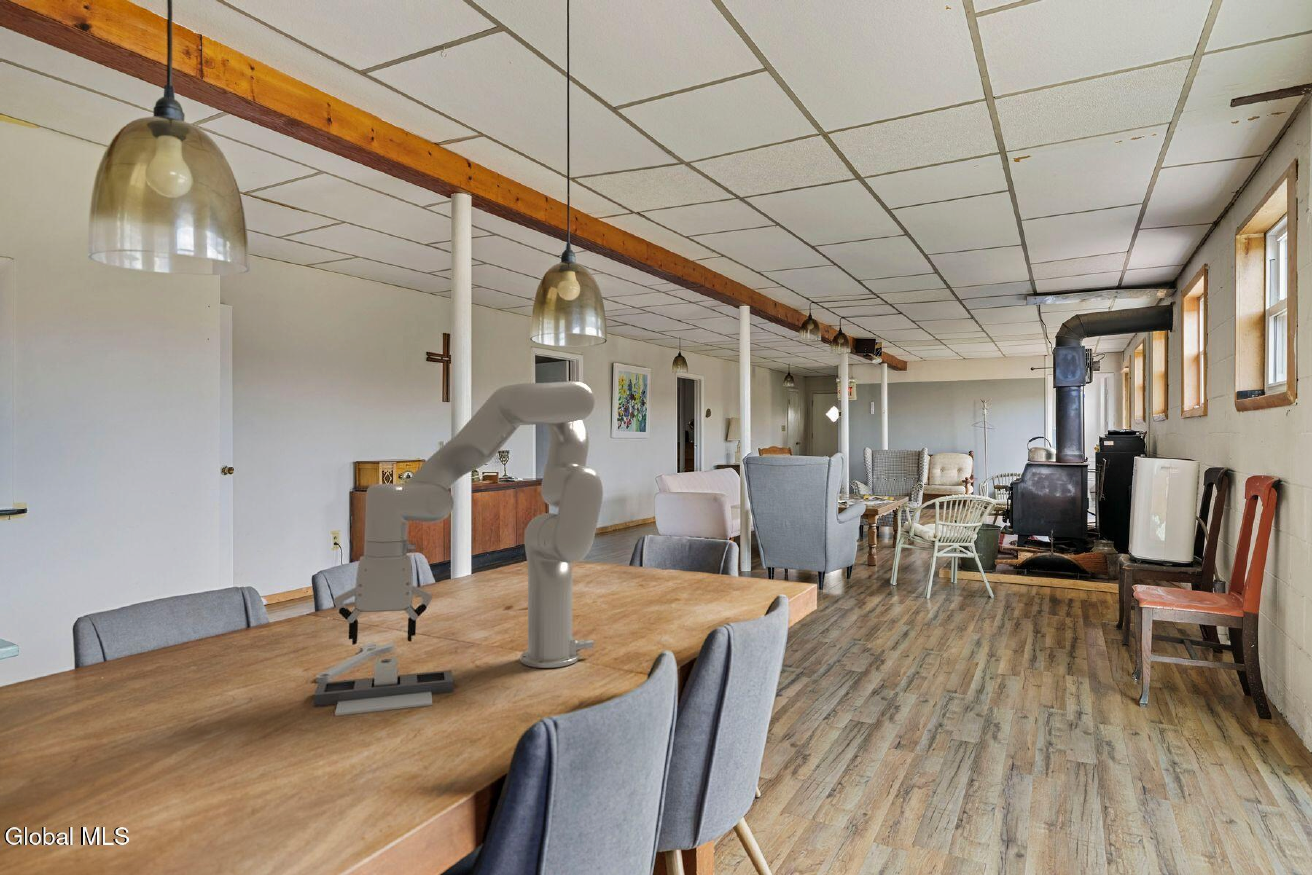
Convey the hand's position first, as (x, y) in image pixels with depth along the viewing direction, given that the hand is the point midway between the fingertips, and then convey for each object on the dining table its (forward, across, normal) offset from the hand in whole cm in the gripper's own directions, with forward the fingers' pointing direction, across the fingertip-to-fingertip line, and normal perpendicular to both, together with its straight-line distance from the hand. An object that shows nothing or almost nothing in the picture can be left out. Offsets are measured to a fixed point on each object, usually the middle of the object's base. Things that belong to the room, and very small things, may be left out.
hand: (382, 641), depth 135 cm
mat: (+10, -1, +6) cm, 12 cm away
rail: (+10, -1, 0) cm, 10 cm away
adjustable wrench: (+10, +6, -22) cm, 25 cm away
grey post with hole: (+10, -1, 0) cm, 10 cm away
